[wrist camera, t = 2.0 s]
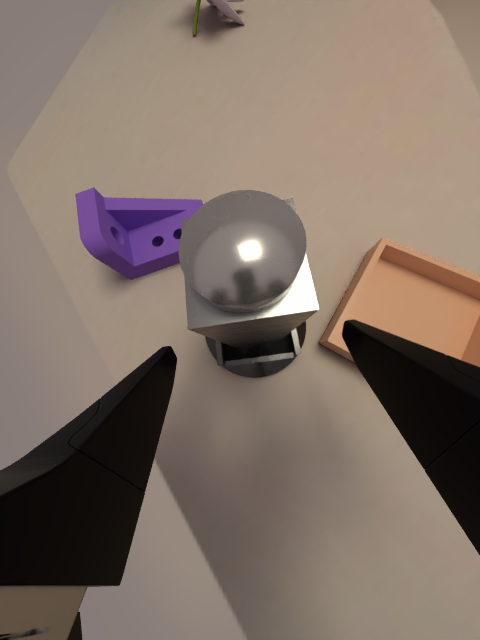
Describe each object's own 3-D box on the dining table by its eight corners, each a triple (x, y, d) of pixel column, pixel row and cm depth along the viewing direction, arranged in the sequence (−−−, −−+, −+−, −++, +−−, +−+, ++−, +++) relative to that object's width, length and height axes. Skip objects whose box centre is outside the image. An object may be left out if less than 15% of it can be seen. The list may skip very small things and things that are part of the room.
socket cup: (314, 369, 18) (321, 371, 16) (211, 382, 19) (204, 385, 17) (293, 273, 21) (297, 262, 18) (202, 288, 21) (195, 280, 19)
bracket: (132, 280, 23) (81, 249, 17) (124, 238, 25) (75, 194, 18) (218, 250, 23) (201, 206, 16) (204, 209, 24) (184, 153, 18)
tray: (440, 410, 16) (472, 419, 14) (318, 342, 19) (327, 340, 16) (486, 301, 18) (522, 292, 15) (367, 251, 20) (382, 237, 18)
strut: (277, 342, 18) (331, 299, 5) (235, 347, 19) (174, 323, 5) (270, 301, 19) (298, 171, 6) (230, 307, 20) (168, 199, 6)
